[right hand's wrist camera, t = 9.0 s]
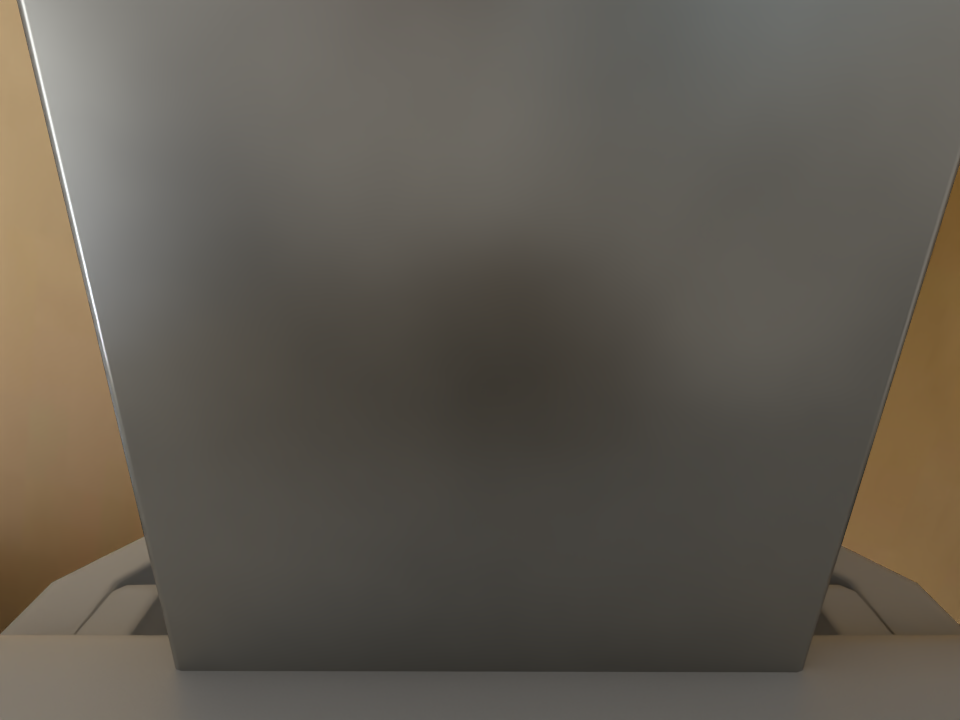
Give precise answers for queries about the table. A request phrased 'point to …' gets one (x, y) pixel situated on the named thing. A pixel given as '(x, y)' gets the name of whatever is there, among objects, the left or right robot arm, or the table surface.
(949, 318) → the table surface
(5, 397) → the table surface
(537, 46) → the bar
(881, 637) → the right robot arm
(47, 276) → the table surface
